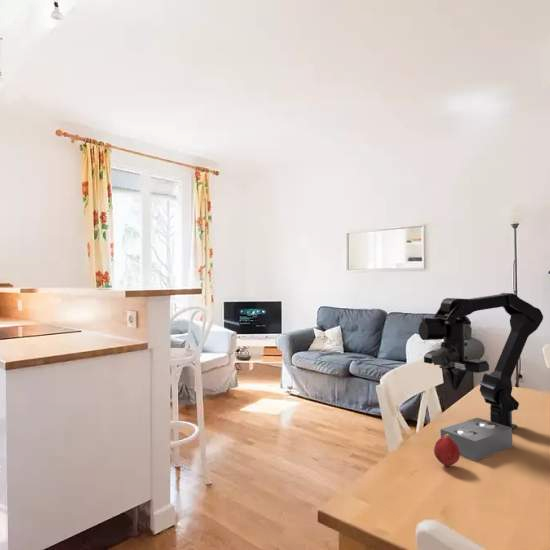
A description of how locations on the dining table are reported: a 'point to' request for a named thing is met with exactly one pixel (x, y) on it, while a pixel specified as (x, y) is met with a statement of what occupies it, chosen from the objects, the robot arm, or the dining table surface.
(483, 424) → the peg
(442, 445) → the onion
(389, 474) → the dining table surface
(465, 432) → the peg
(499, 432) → the socket block
